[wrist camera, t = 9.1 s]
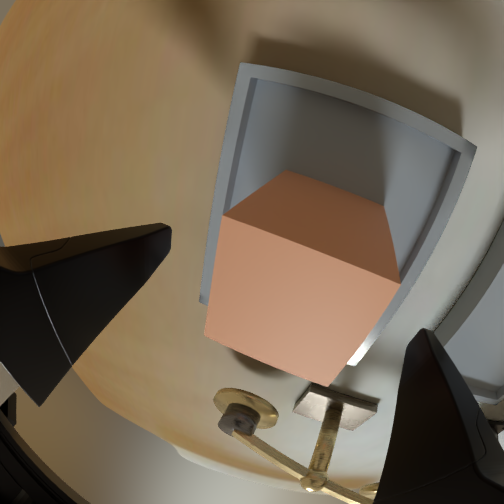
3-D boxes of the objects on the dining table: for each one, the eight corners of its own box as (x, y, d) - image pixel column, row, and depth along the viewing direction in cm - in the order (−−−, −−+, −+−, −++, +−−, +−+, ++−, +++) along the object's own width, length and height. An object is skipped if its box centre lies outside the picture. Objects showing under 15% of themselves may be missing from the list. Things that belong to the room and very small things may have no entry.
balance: (435, 415, 16) (429, 508, 8) (403, 437, 18) (389, 518, 11) (237, 349, 20) (176, 448, 12) (228, 380, 22) (178, 462, 15)
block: (383, 206, 10) (401, 284, 5) (346, 287, 13) (327, 387, 8) (285, 169, 11) (222, 215, 6) (263, 254, 14) (204, 335, 9)
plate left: (462, 142, 8) (477, 146, 7) (357, 345, 15) (354, 366, 14) (255, 68, 10) (240, 62, 9) (213, 285, 17) (199, 301, 16)
